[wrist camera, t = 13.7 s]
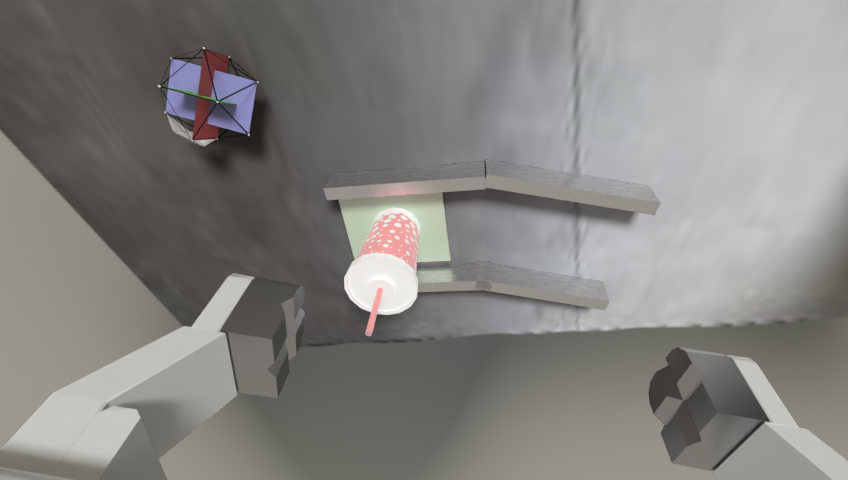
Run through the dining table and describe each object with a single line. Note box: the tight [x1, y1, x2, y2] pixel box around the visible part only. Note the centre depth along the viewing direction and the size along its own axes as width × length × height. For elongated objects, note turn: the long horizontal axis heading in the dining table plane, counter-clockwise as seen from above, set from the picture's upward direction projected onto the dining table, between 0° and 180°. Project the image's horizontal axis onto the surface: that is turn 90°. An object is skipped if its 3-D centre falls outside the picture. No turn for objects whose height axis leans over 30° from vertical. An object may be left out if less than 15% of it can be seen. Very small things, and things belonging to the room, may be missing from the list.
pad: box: [338, 192, 451, 262], centre depth 43 cm, size 10×9×1 cm
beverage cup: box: [344, 208, 420, 336], centre depth 37 cm, size 6×6×14 cm
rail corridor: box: [324, 159, 661, 310], centre depth 42 cm, size 28×16×3 cm, turn 82°
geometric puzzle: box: [158, 47, 259, 147], centre depth 34 cm, size 7×7×8 cm
